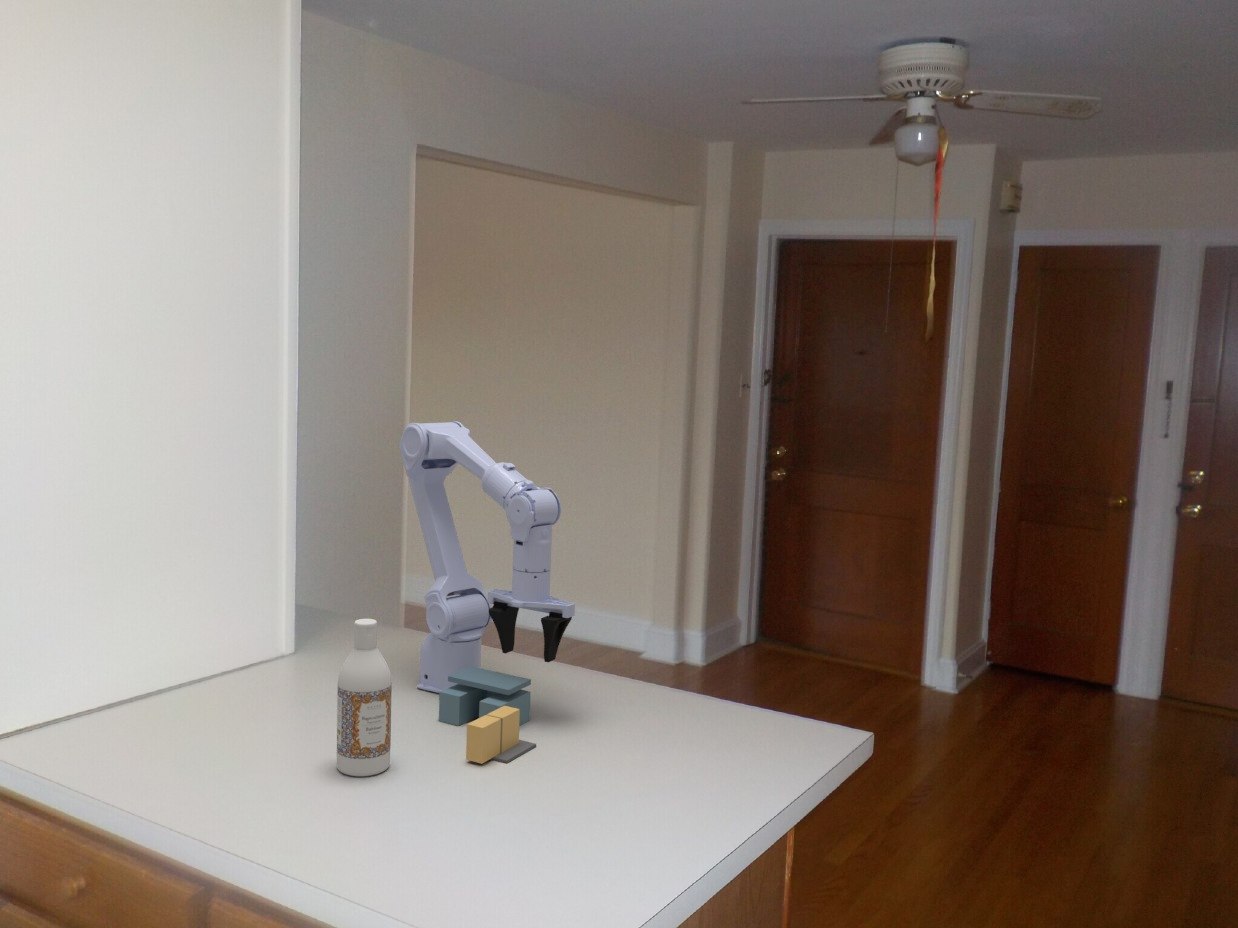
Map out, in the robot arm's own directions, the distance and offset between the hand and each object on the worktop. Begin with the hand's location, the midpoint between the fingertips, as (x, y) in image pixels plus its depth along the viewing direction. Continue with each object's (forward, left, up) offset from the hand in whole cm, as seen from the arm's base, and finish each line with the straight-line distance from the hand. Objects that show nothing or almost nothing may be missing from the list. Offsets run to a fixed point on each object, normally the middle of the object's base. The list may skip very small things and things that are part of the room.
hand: (528, 655), depth 166 cm
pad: (+5, -14, -9) cm, 17 cm away
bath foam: (-7, -29, -10) cm, 31 cm away
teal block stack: (-4, -6, -9) cm, 12 cm away
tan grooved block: (+4, -16, -9) cm, 18 cm away
